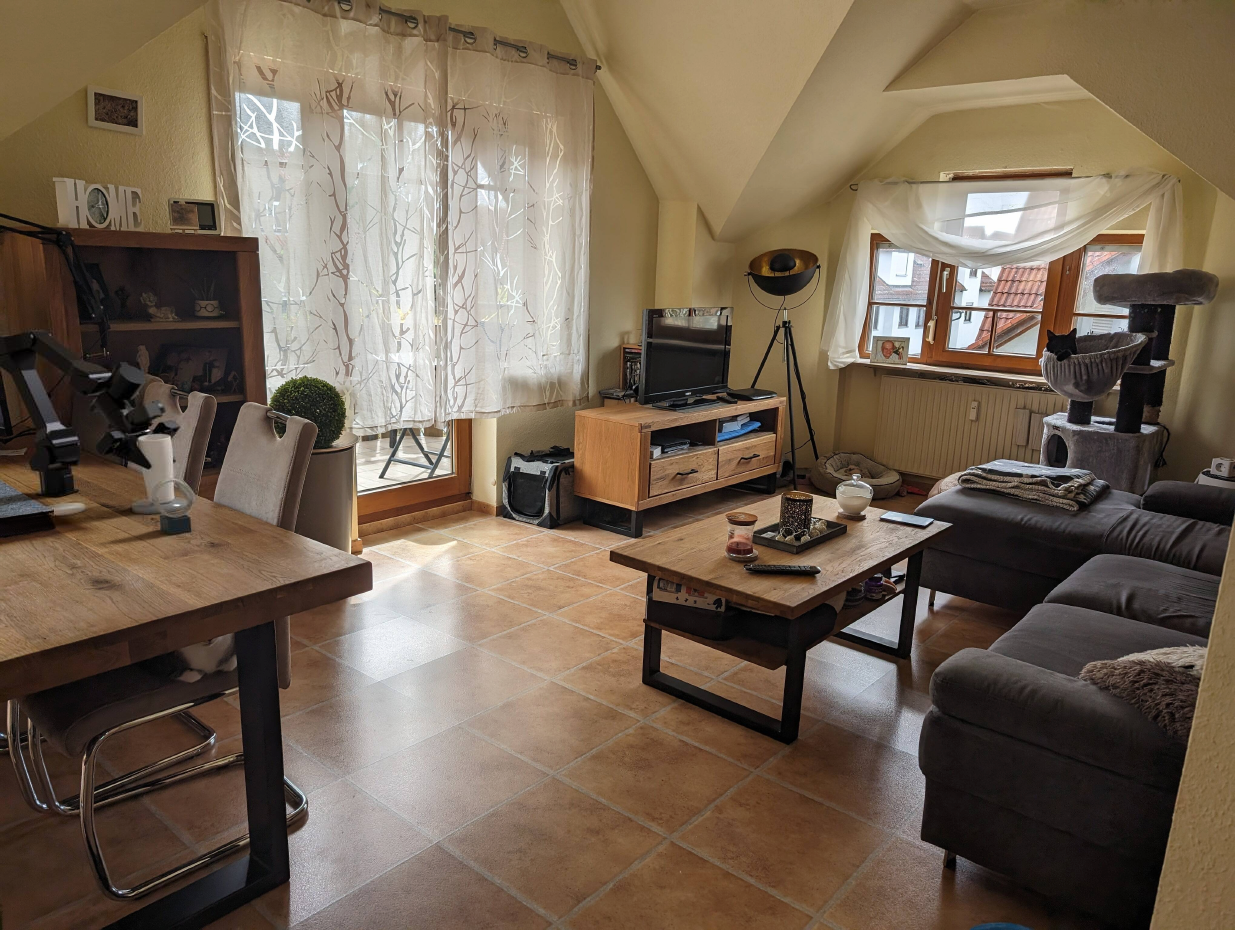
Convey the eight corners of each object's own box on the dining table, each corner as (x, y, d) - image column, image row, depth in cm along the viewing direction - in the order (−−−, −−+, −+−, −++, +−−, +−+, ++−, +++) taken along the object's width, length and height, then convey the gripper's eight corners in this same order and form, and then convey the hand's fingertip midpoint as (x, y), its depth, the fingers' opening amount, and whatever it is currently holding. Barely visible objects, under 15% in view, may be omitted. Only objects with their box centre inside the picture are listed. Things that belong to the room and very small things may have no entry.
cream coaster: (33, 513, 189) (33, 510, 189) (64, 504, 197) (64, 501, 197) (64, 516, 188) (64, 513, 188) (94, 508, 195) (93, 504, 195)
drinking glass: (178, 495, 202) (171, 432, 198) (177, 503, 196) (170, 439, 192) (145, 498, 199) (137, 435, 195) (144, 507, 193) (135, 441, 189)
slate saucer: (120, 511, 193) (120, 506, 193) (156, 500, 204) (156, 495, 203) (162, 515, 191) (162, 510, 191) (197, 504, 201) (197, 499, 201)
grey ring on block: (201, 530, 181) (197, 478, 179) (159, 536, 176) (155, 484, 174) (192, 524, 185) (188, 474, 183) (151, 530, 180) (147, 479, 178)
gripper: (100, 394, 184) (145, 449, 183) (170, 385, 202) (212, 435, 201) (76, 428, 188) (120, 482, 187) (147, 417, 206) (187, 466, 205)
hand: (162, 465), depth 195 cm, fingers closed on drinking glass, 6 cm apart
